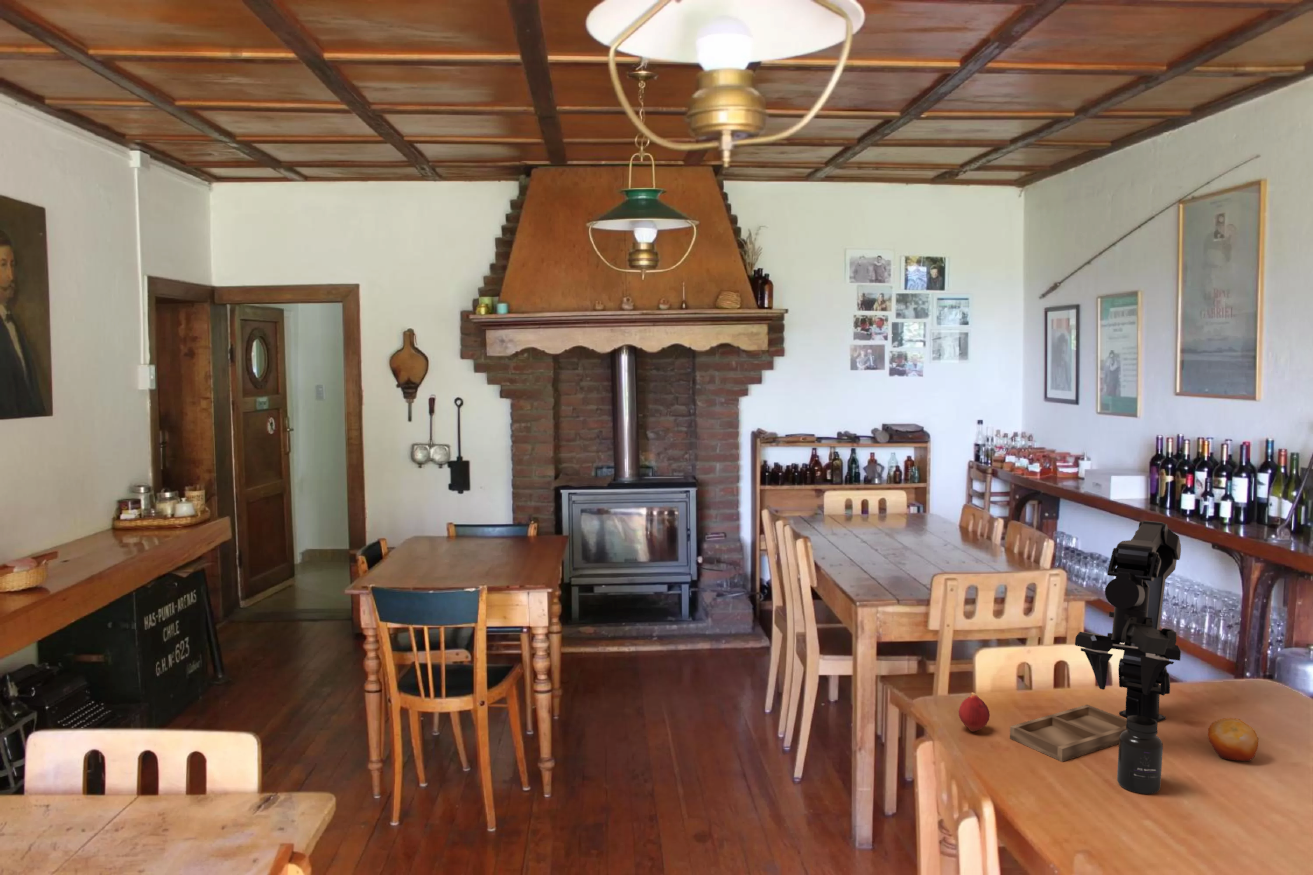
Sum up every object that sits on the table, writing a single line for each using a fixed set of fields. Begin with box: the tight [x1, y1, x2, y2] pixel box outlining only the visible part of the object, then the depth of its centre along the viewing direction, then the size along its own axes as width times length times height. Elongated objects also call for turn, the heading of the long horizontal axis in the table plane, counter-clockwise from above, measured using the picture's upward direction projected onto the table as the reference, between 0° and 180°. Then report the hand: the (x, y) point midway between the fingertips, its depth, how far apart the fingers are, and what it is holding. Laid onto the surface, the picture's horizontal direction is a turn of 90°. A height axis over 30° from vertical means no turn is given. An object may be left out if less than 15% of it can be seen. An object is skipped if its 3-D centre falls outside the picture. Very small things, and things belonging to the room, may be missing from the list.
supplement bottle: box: [1116, 715, 1164, 795], centre depth 161 cm, size 7×7×12 cm
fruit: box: [1207, 717, 1260, 762], centre depth 173 cm, size 8×8×8 cm
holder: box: [1009, 704, 1127, 763], centre depth 182 cm, size 23×12×2 cm, turn 118°
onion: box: [958, 692, 991, 732], centre depth 185 cm, size 6×6×8 cm
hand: (1123, 691), depth 175 cm, fingers open, 9 cm apart
